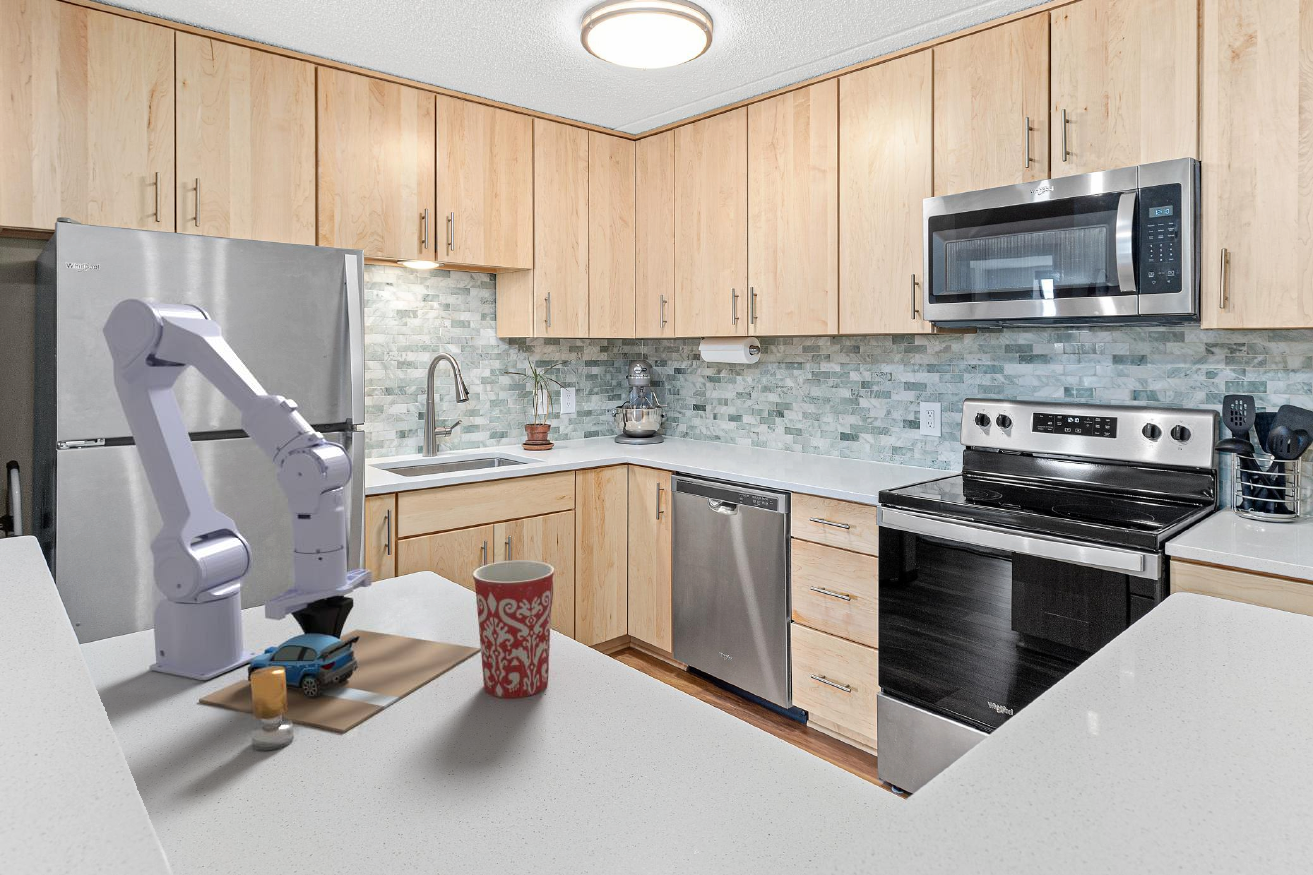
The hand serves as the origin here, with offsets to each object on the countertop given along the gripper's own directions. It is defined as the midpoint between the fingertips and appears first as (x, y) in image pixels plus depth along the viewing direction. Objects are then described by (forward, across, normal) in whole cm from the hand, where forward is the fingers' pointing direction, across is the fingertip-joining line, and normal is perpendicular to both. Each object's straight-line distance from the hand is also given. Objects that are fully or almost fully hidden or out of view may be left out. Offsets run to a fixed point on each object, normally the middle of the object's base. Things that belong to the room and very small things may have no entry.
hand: (324, 660), depth 93 cm
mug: (+2, +7, -23) cm, 24 cm away
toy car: (+2, -4, -1) cm, 4 cm away
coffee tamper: (+2, -15, -8) cm, 17 cm away
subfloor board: (+2, +1, -3) cm, 4 cm away
